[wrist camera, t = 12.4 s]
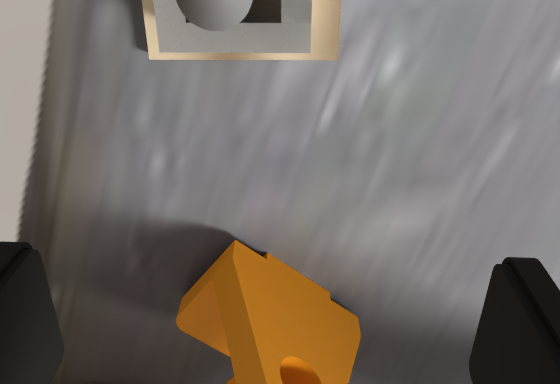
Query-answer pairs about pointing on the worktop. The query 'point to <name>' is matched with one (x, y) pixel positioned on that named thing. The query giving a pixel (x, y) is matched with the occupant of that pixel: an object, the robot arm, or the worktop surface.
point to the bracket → (270, 321)
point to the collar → (238, 30)
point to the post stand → (231, 11)
